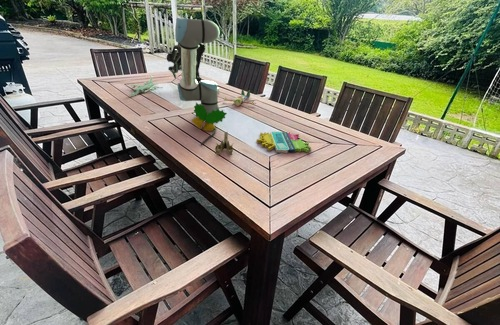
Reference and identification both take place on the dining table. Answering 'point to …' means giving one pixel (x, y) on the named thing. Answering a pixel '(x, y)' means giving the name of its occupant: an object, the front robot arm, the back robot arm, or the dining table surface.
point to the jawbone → (224, 145)
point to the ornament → (207, 117)
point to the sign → (283, 142)
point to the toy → (241, 99)
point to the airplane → (143, 87)
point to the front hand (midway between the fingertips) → (184, 73)
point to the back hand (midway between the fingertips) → (179, 79)
